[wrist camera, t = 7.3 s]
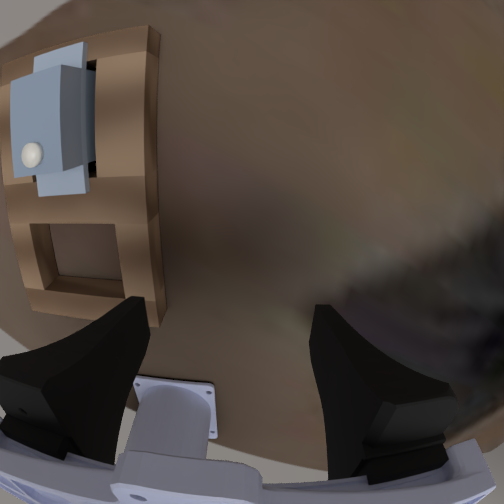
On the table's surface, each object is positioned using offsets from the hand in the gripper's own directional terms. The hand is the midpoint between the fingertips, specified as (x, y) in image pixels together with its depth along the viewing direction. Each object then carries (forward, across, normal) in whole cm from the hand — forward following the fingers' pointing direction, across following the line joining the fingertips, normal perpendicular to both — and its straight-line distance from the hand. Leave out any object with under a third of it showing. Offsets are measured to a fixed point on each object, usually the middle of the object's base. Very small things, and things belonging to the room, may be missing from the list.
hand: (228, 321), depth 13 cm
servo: (+10, +11, -9) cm, 17 cm away
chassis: (+9, +12, -4) cm, 15 cm away
